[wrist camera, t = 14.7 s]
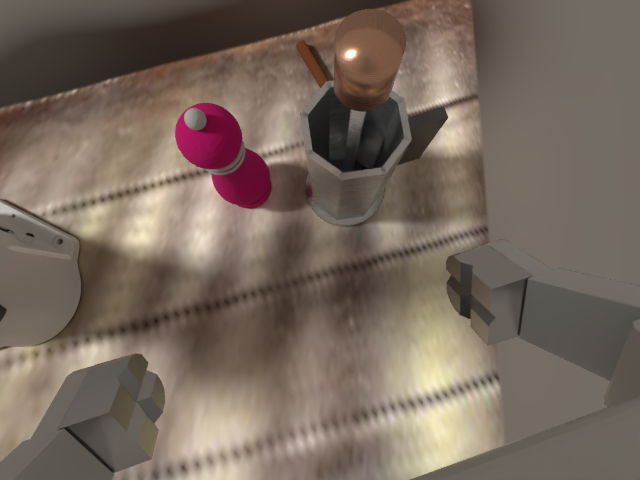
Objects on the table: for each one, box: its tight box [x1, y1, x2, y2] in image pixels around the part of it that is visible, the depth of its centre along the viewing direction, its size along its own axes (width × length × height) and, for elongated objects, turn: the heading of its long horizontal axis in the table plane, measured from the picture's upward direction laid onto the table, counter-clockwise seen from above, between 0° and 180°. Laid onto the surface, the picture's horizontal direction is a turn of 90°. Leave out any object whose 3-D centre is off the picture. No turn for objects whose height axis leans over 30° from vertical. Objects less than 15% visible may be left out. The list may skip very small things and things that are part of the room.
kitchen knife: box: [296, 40, 328, 88], centre depth 47 cm, size 16×1×2 cm, turn 29°
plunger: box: [333, 9, 406, 173], centre depth 31 cm, size 6×6×26 cm
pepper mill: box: [175, 103, 271, 208], centre depth 36 cm, size 7×7×20 cm
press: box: [300, 80, 448, 226], centre depth 37 cm, size 11×14×18 cm
